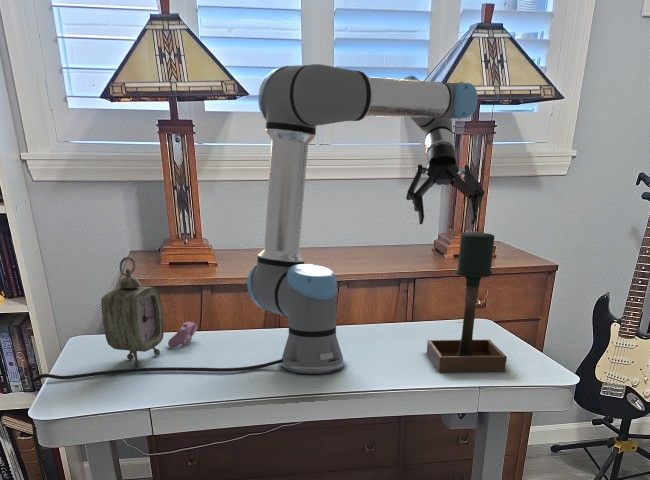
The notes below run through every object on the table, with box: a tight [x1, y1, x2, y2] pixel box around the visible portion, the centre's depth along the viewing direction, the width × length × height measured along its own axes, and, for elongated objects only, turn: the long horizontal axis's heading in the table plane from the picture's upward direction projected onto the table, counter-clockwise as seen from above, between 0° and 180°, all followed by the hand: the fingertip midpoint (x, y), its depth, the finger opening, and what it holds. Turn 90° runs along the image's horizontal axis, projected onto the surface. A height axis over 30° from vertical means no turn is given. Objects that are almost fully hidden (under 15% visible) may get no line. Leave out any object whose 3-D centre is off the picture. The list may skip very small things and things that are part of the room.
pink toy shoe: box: [167, 320, 198, 349], centre depth 190 cm, size 10×5×7 cm, turn 171°
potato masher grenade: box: [455, 231, 495, 356], centre depth 172 cm, size 8×9×30 cm
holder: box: [426, 339, 507, 373], centre depth 178 cm, size 17×16×4 cm
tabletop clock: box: [100, 256, 165, 368], centre depth 171 cm, size 14×9×25 cm, turn 167°
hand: (447, 220), depth 180 cm, fingers open, 13 cm apart
